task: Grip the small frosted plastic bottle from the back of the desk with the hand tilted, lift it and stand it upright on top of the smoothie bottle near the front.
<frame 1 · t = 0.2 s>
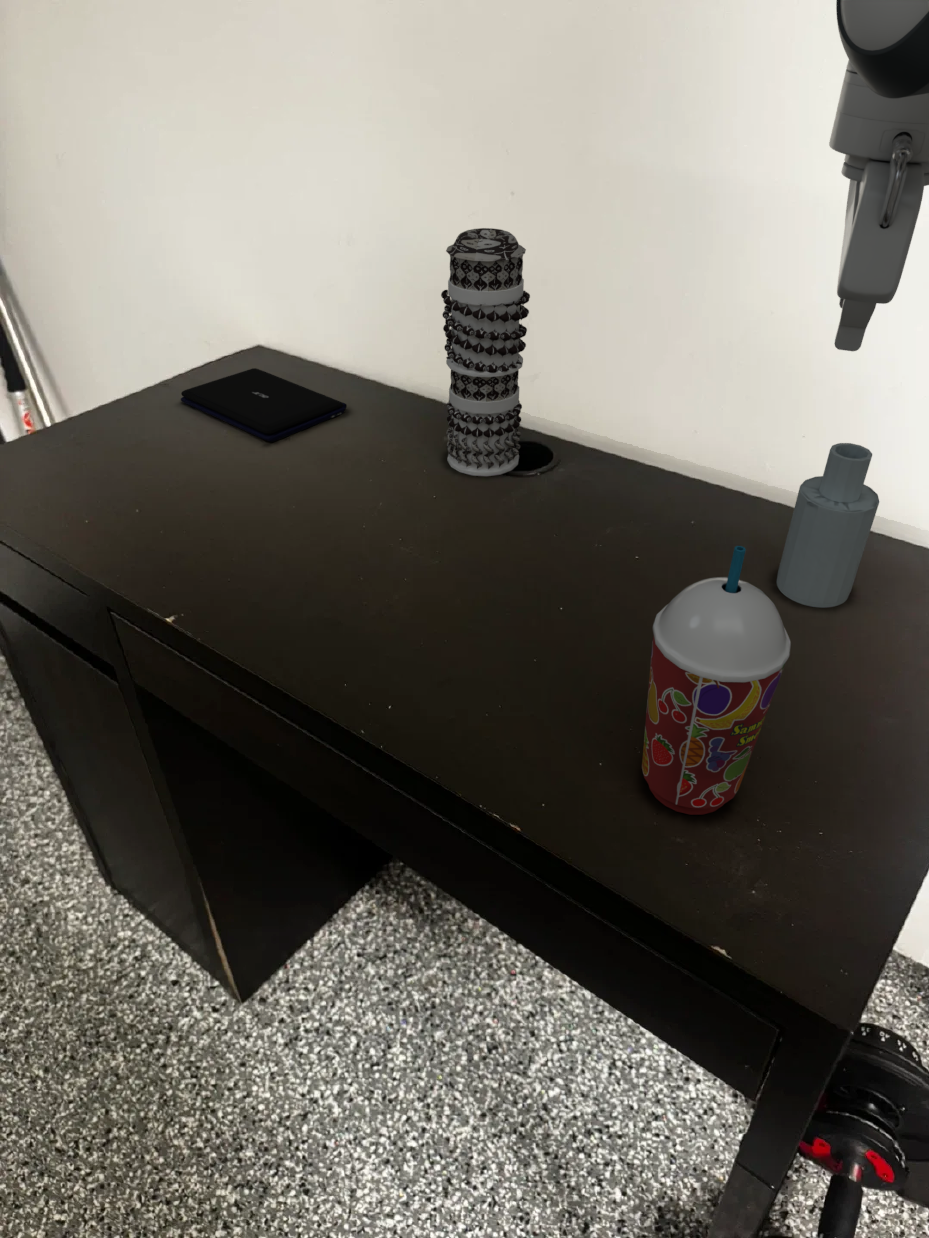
hand: (848, 326, 69), 25 cm above the table, tool pointing down, fingers open, 8 cm apart
decorative candle: (483, 461, 105), on the table
smoothie: (687, 787, 64), on the table
laptop: (264, 409, 116), on the table
small bottle: (812, 587, 84), on the table
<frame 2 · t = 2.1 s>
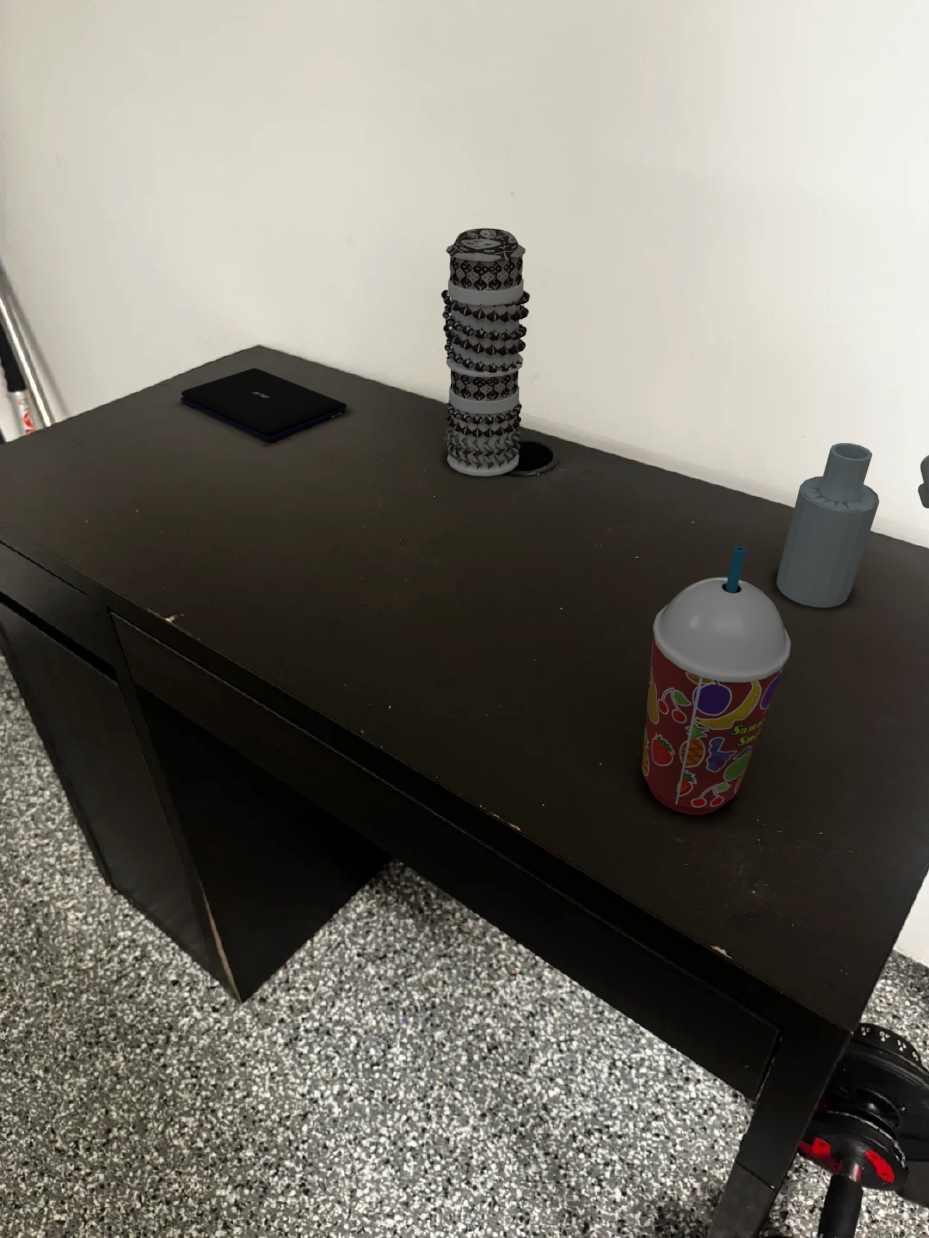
nothing on the table moved.
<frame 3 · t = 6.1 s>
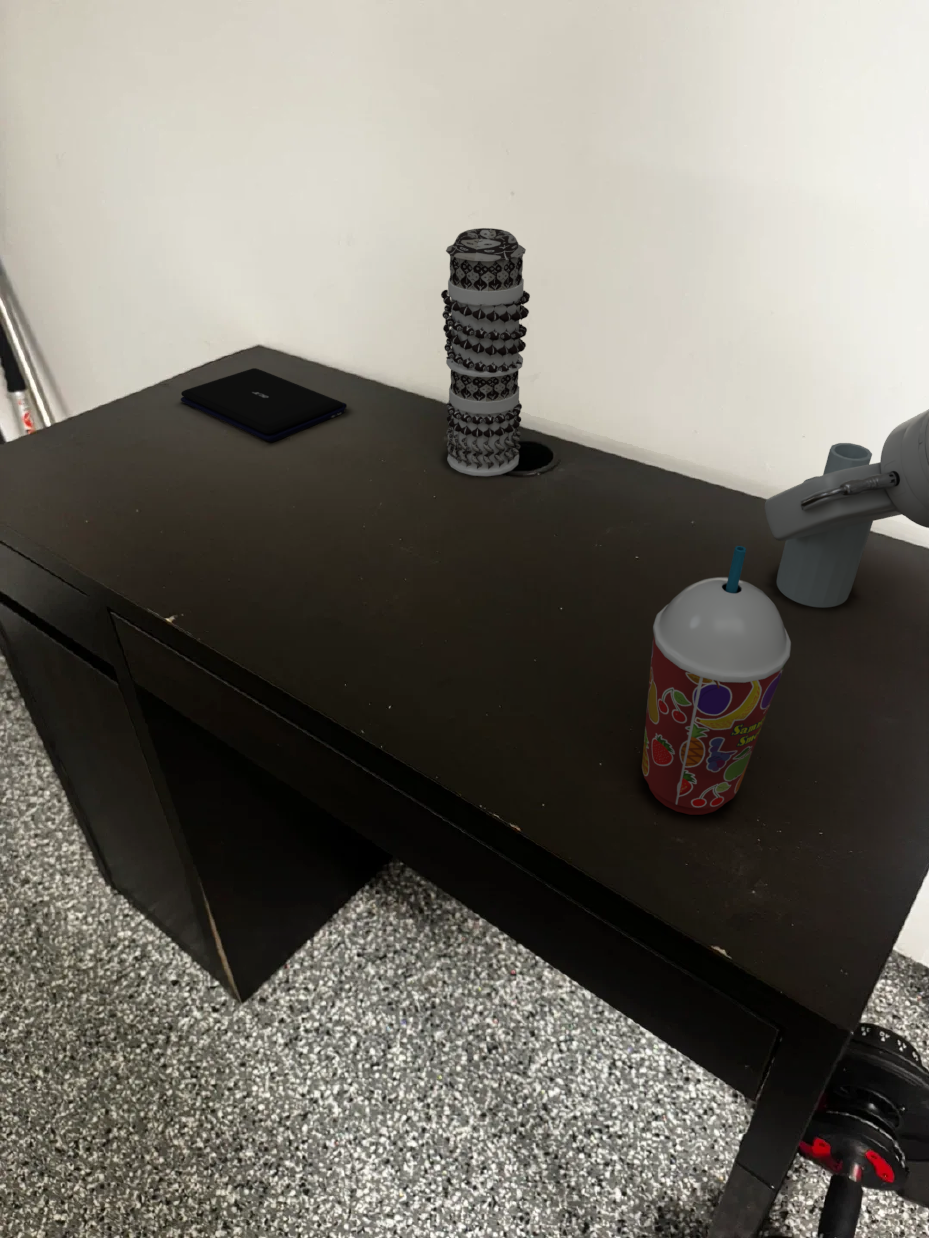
hand: (826, 517, 80), 7 cm above the table, tool tilted 45°, fingers closed on small bottle, 6 cm apart
small bottle: (812, 587, 84), on the table, touching gripper
everything else where it was.
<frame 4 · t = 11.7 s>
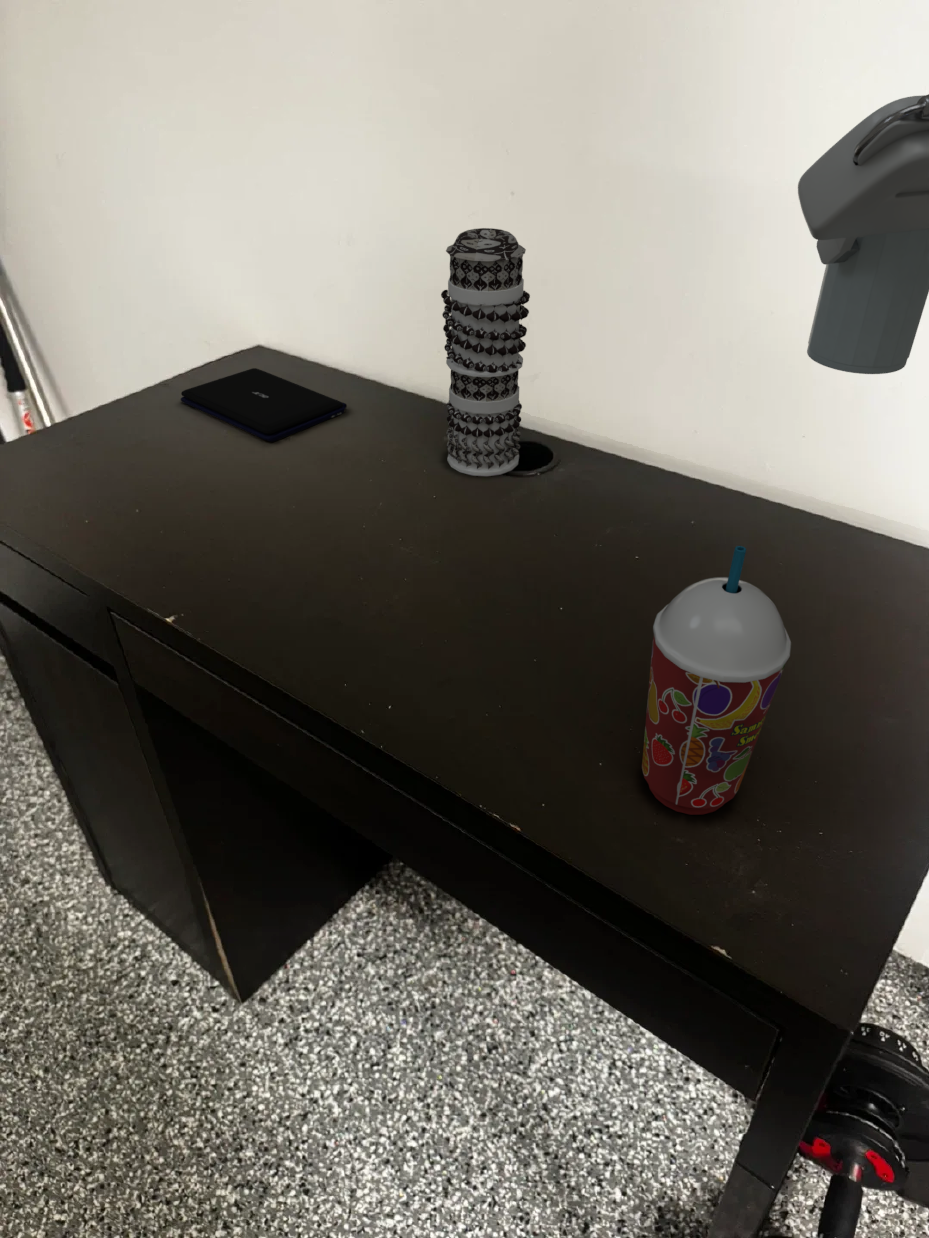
hand: (878, 248, 58), 32 cm above the table, tool tilted 45°, fingers closed on small bottle, 6 cm apart
small bottle: (855, 357, 62), point 25 cm above the table, touching gripper
everything else where it was.
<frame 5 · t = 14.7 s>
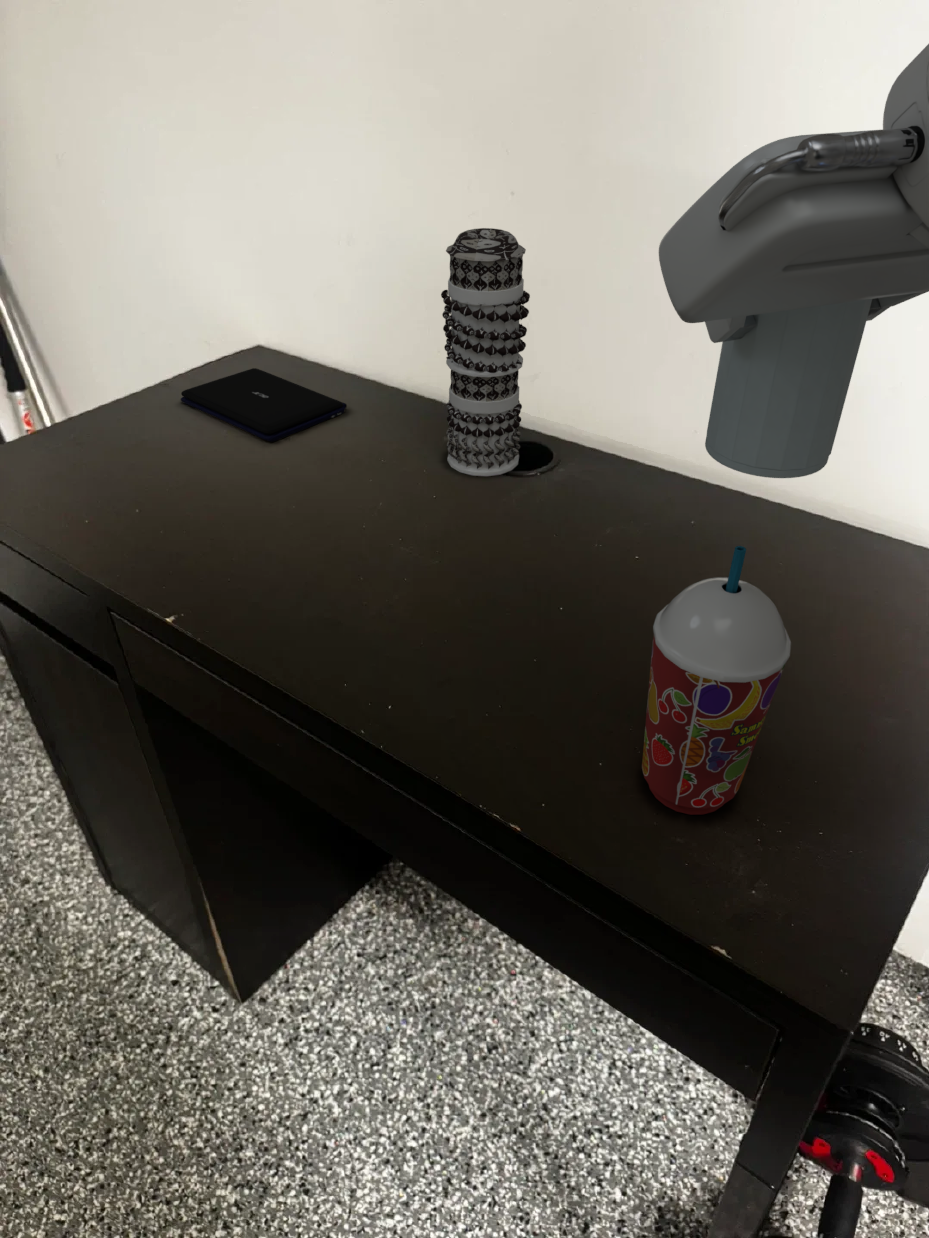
hand: (787, 318, 45), 33 cm above the table, tool tilted 45°, fingers closed on small bottle, 6 cm apart
small bottle: (765, 450, 49), point 26 cm above the table, touching gripper
everything else where it was.
when the fingers open (27 cm above the table, at t = 17.5 s): small bottle stays where it is, resting on smoothie.
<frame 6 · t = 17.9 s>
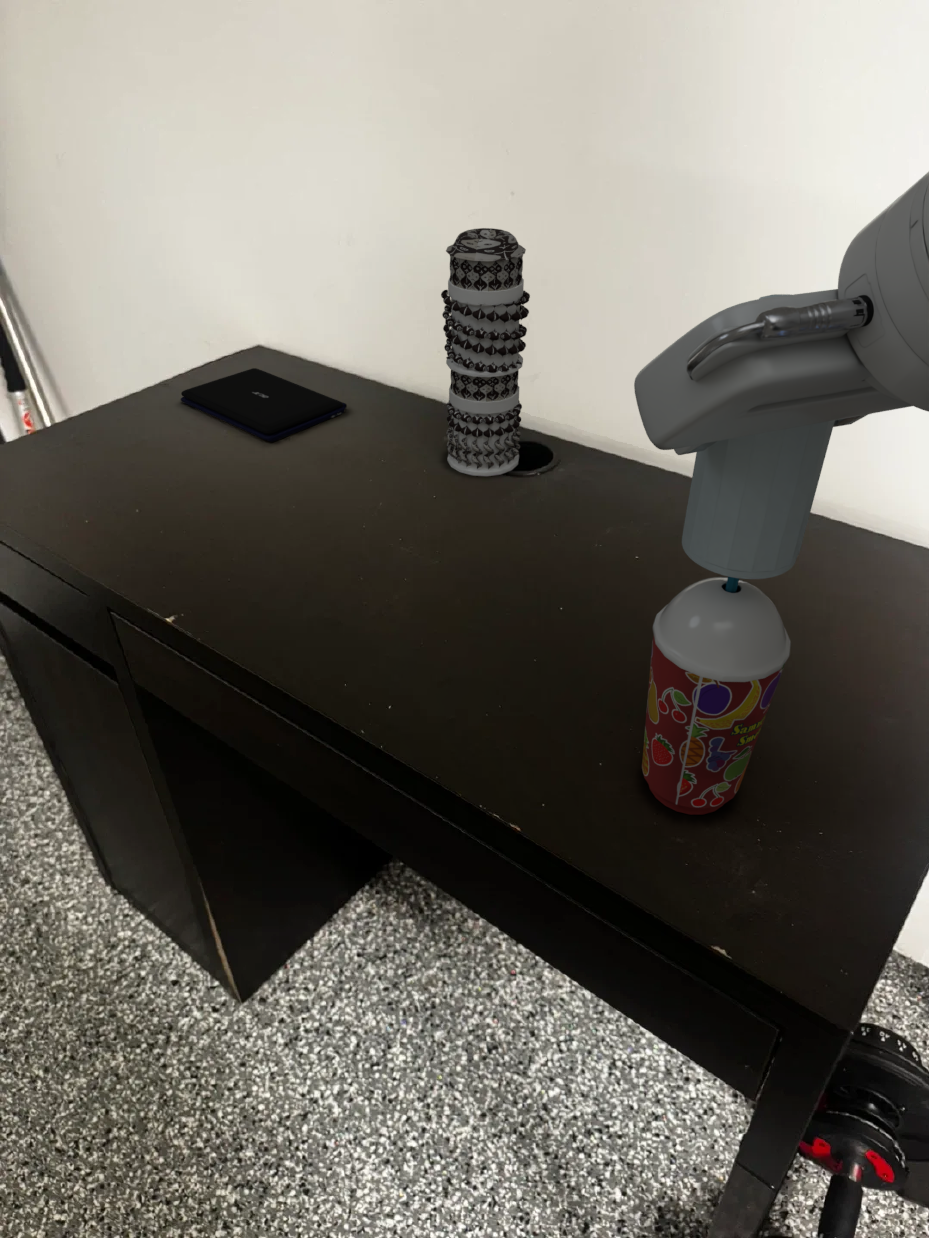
hand: (759, 426, 48), 27 cm above the table, tool tilted 45°, fingers open, 8 cm apart
smoothie: (687, 787, 64), on the table, touching small bottle
small bottle: (738, 548, 52), point 20 cm above the table, touching smoothie
everything else where it was.
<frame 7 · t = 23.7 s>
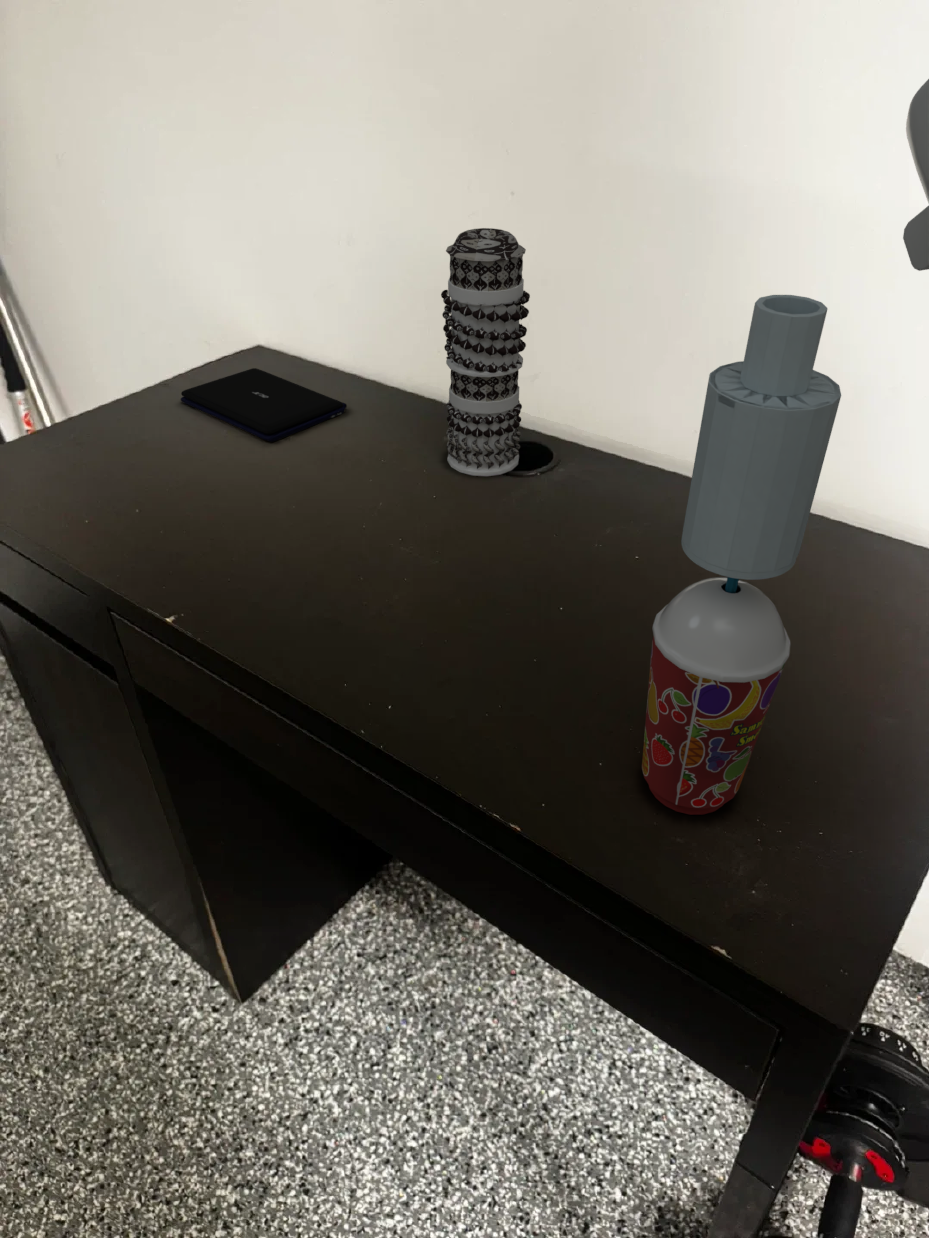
nothing on the table moved.
at the end: small bottle 0.1 cm off-centre on the smoothie, point 20.2 cm above the smoothie's base; small bottle tilted 0°; smoothie tilted 0° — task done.
